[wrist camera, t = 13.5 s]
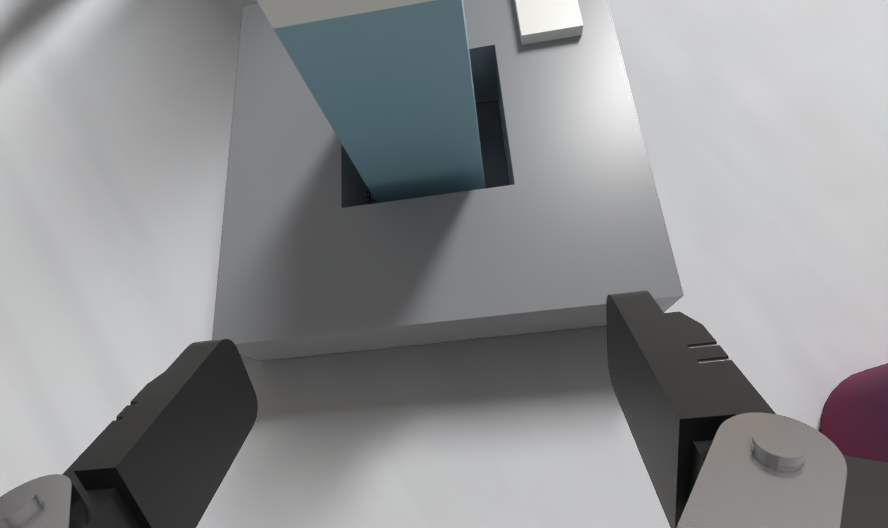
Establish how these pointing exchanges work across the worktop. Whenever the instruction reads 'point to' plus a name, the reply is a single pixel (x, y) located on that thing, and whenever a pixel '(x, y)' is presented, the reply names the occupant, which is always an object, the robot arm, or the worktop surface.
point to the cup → (859, 415)
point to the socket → (442, 202)
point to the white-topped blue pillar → (390, 88)
